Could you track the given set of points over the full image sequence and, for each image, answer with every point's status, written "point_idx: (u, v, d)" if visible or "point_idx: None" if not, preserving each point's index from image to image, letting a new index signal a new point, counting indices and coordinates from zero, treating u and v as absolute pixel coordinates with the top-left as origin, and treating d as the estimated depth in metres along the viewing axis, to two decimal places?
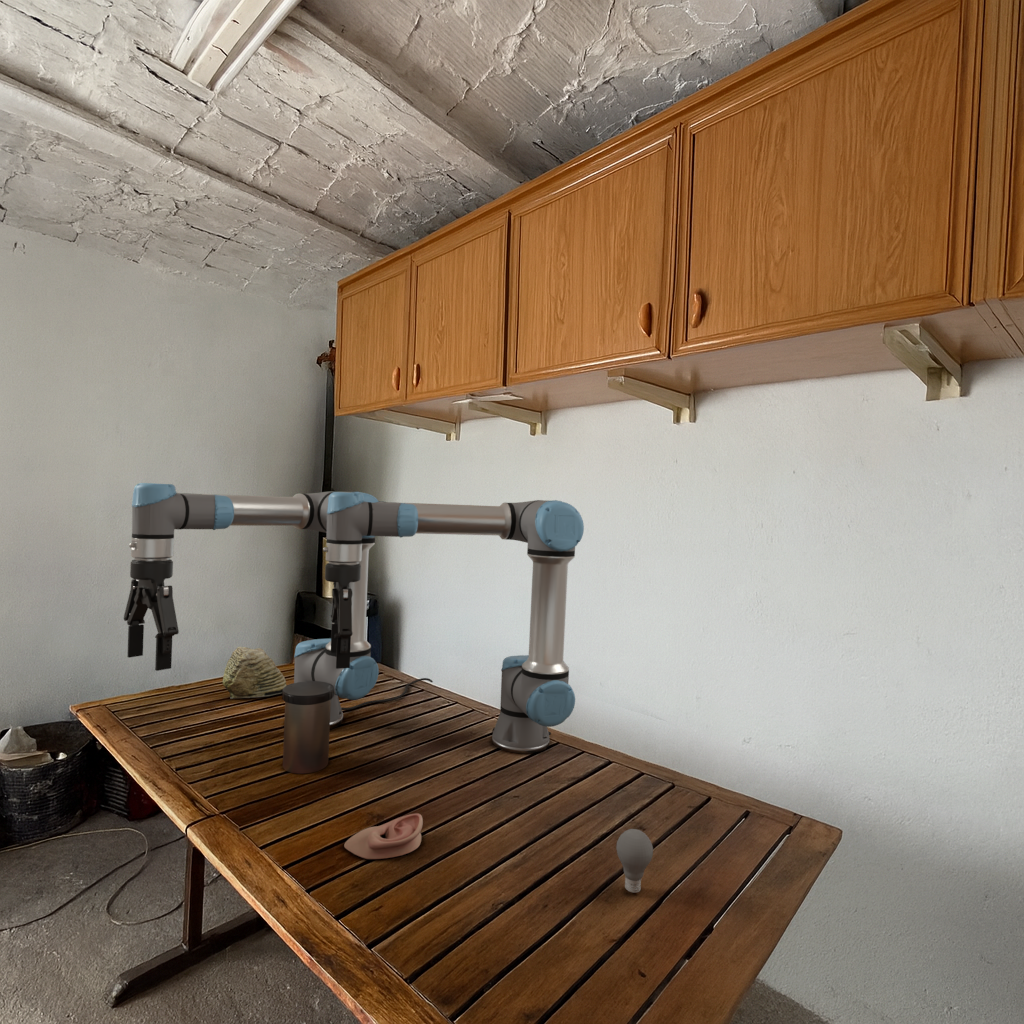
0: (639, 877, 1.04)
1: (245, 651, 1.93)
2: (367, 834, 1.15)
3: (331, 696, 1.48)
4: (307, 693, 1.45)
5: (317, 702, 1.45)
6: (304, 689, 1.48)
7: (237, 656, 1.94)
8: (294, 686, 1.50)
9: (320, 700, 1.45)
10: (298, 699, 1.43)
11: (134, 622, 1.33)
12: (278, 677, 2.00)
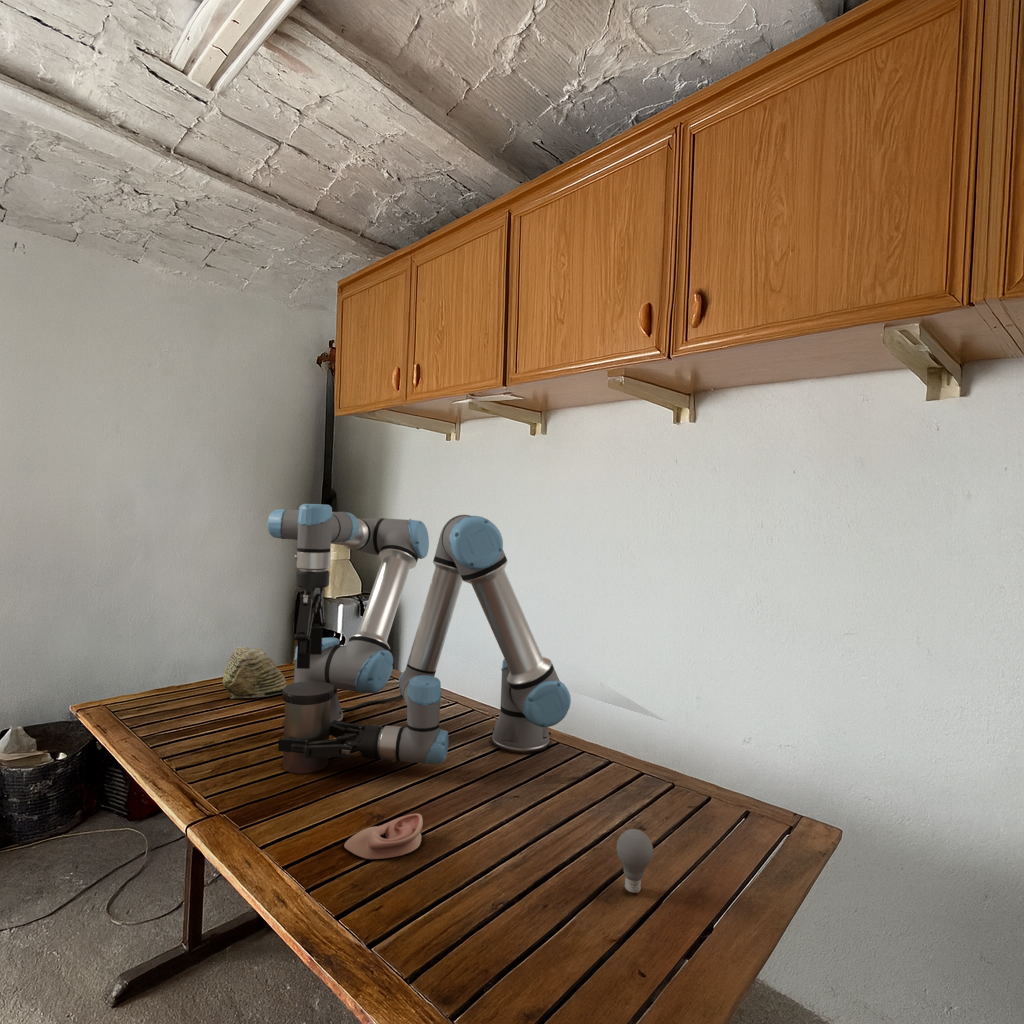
0: (639, 877, 1.04)
1: (245, 651, 1.93)
2: (367, 834, 1.15)
3: (331, 696, 1.48)
4: (307, 693, 1.45)
5: (317, 702, 1.45)
6: (304, 689, 1.48)
7: (237, 656, 1.94)
8: (294, 686, 1.50)
9: (320, 700, 1.45)
10: (298, 699, 1.43)
11: (316, 624, 1.55)
12: (278, 677, 2.00)
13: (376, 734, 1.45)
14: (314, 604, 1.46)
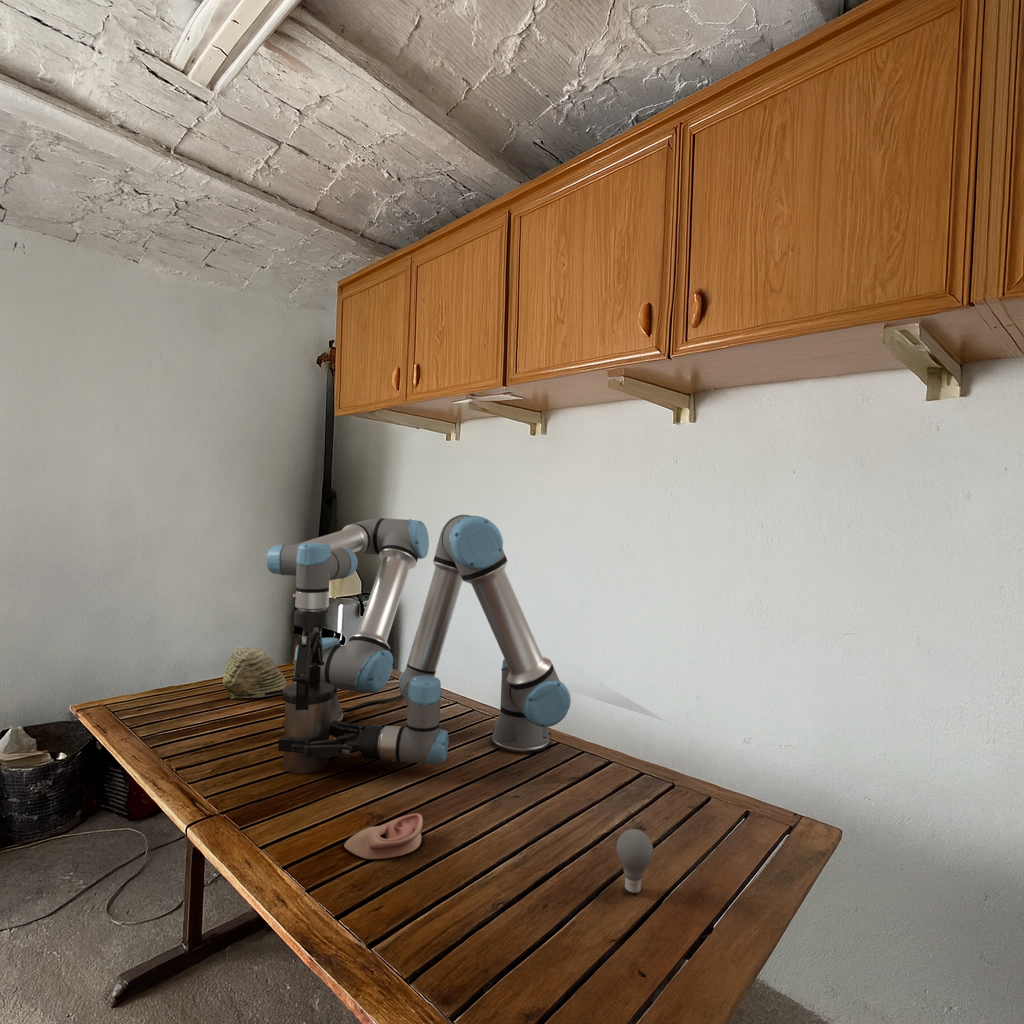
0: (639, 877, 1.04)
1: (245, 651, 1.93)
2: (367, 834, 1.15)
3: (331, 696, 1.48)
4: None
5: (317, 702, 1.45)
6: None
7: (237, 656, 1.94)
8: (294, 686, 1.50)
9: (320, 700, 1.45)
10: None
11: (314, 663, 1.55)
12: (278, 677, 2.00)
13: (376, 734, 1.45)
14: (313, 644, 1.46)
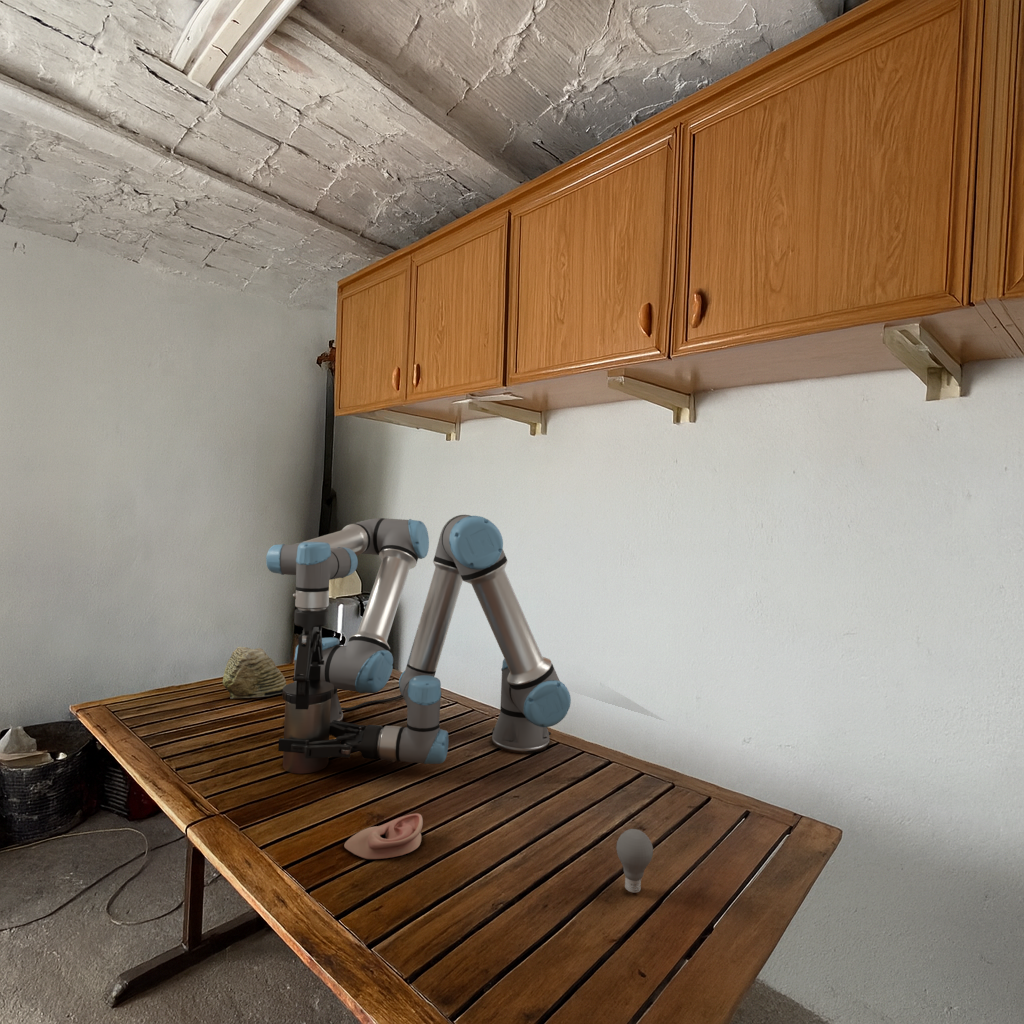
0: (639, 877, 1.04)
1: (245, 651, 1.93)
2: (367, 834, 1.15)
3: None
4: (327, 687, 1.49)
5: None
6: (311, 688, 1.48)
7: (237, 656, 1.94)
8: None
9: None
10: (330, 693, 1.48)
11: (314, 662, 1.55)
12: (278, 677, 2.00)
13: (376, 734, 1.45)
14: (313, 643, 1.46)
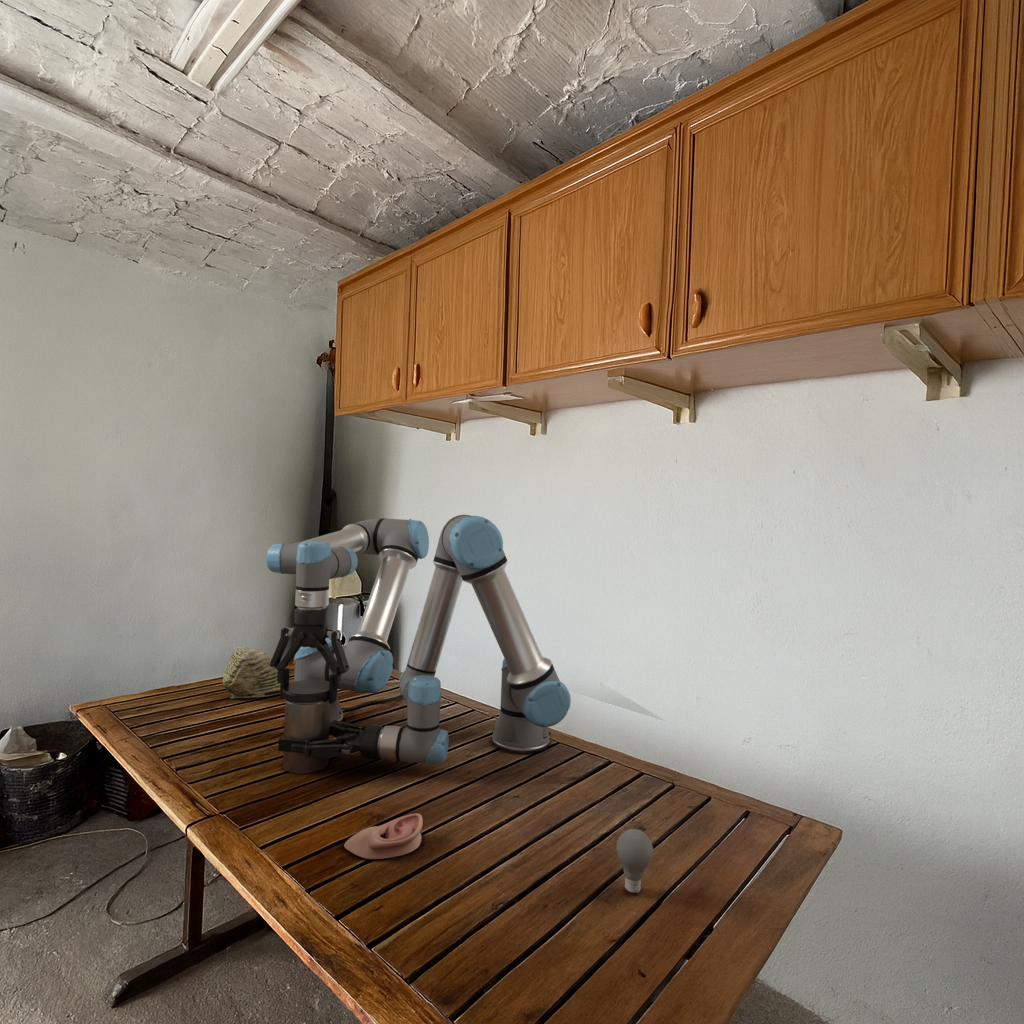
0: (639, 877, 1.04)
1: (245, 651, 1.93)
2: (367, 834, 1.15)
3: None
4: (318, 681, 1.53)
5: None
6: (314, 685, 1.50)
7: (237, 656, 1.94)
8: (318, 689, 1.47)
9: None
10: None
11: (283, 667, 1.50)
12: None
13: (376, 734, 1.45)
14: (324, 640, 1.50)
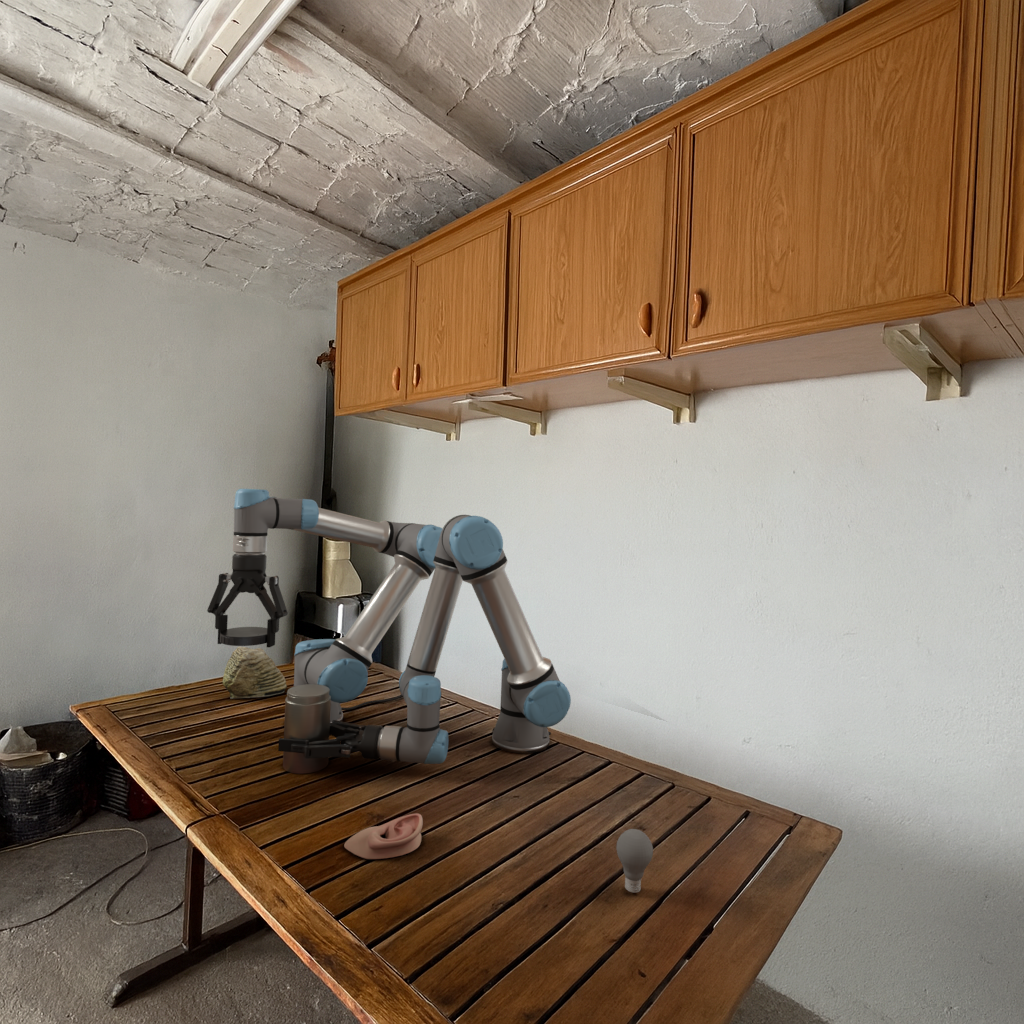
0: (639, 877, 1.04)
1: (245, 651, 1.93)
2: (367, 834, 1.15)
3: None
4: (256, 628, 1.55)
5: None
6: (252, 631, 1.52)
7: (237, 656, 1.94)
8: (255, 634, 1.49)
9: None
10: None
11: (221, 613, 1.51)
12: (278, 677, 2.00)
13: (376, 734, 1.45)
14: (262, 585, 1.52)
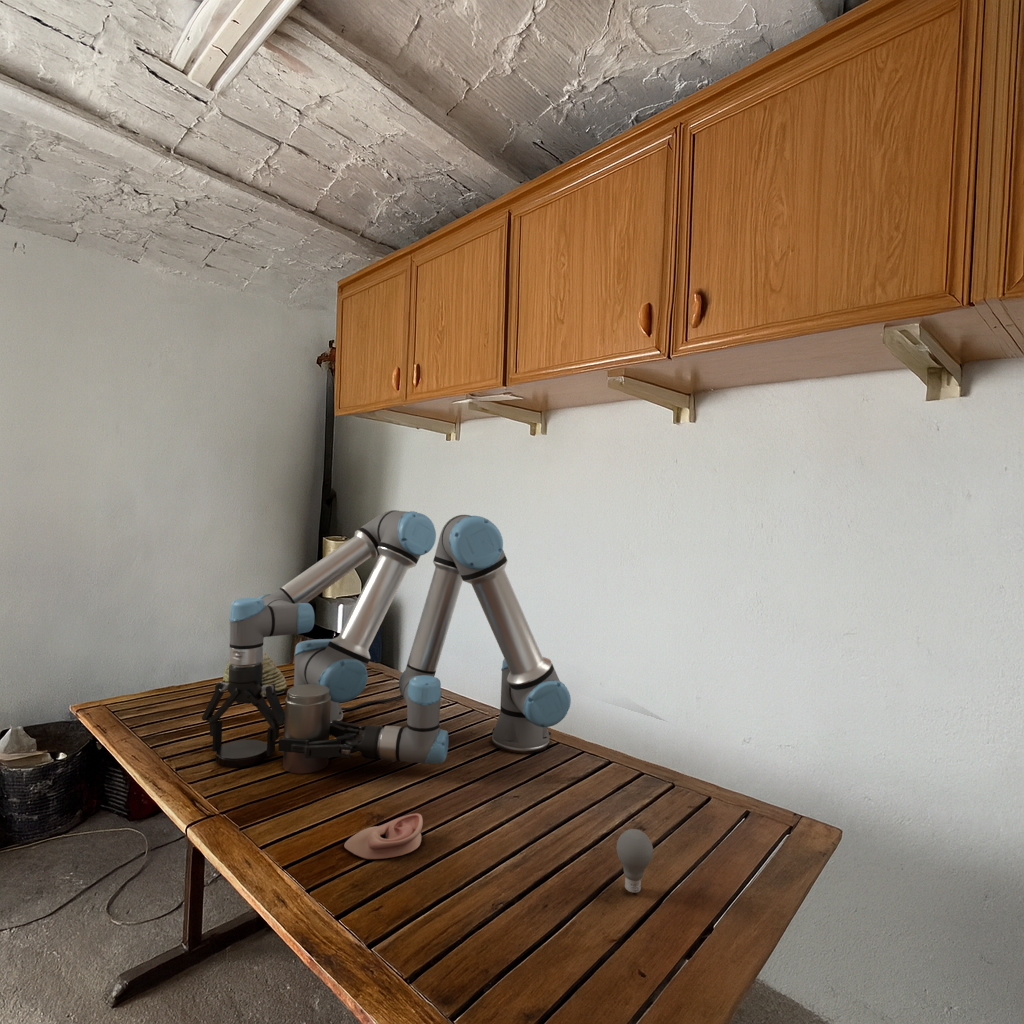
0: (639, 877, 1.04)
1: None
2: (367, 834, 1.15)
3: None
4: (252, 741, 1.56)
5: None
6: (248, 747, 1.52)
7: None
8: (251, 752, 1.50)
9: None
10: None
11: (215, 720, 1.52)
12: (278, 677, 2.00)
13: (376, 734, 1.45)
14: None
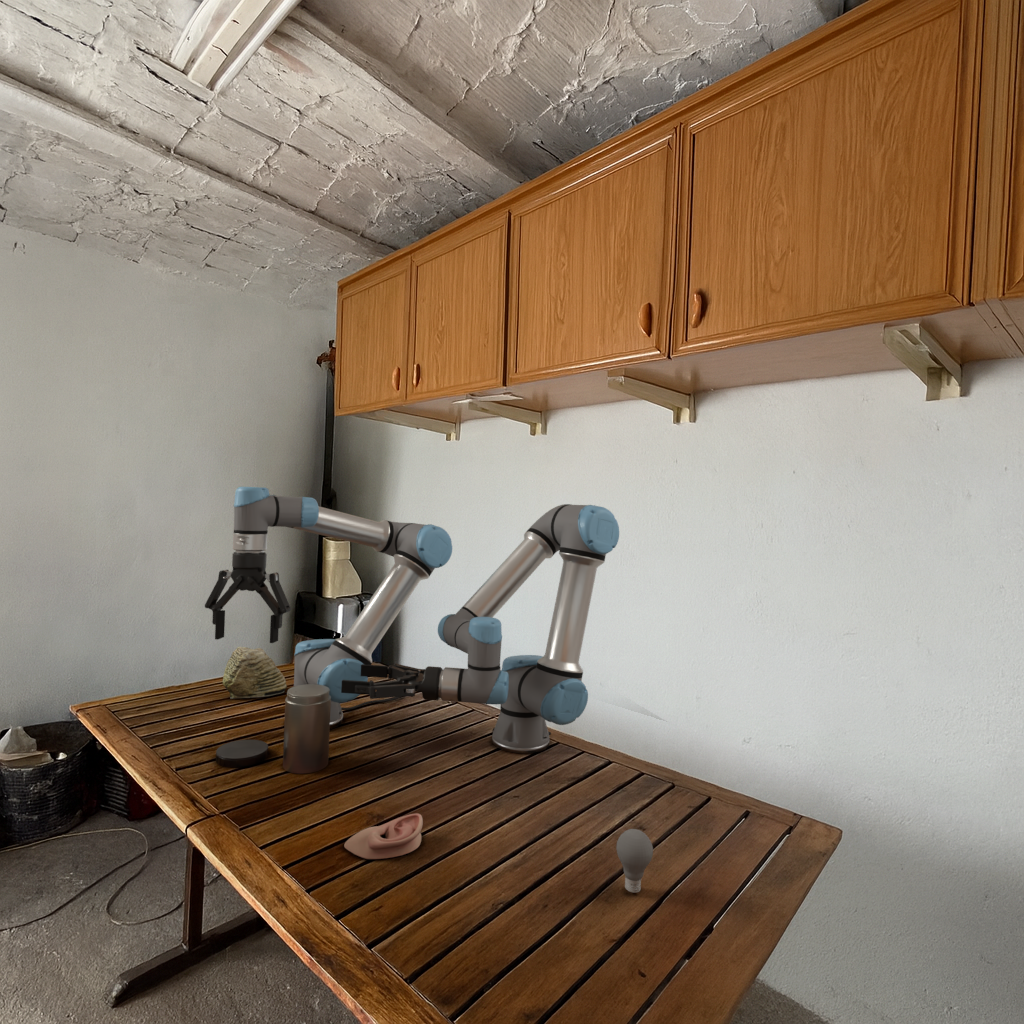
0: (639, 877, 1.04)
1: (245, 651, 1.93)
2: (367, 834, 1.15)
3: None
4: (252, 741, 1.56)
5: None
6: (248, 747, 1.52)
7: (237, 656, 1.94)
8: (251, 752, 1.50)
9: None
10: None
11: (218, 608, 1.52)
12: (278, 677, 2.00)
13: (437, 674, 1.44)
14: (263, 583, 1.52)
